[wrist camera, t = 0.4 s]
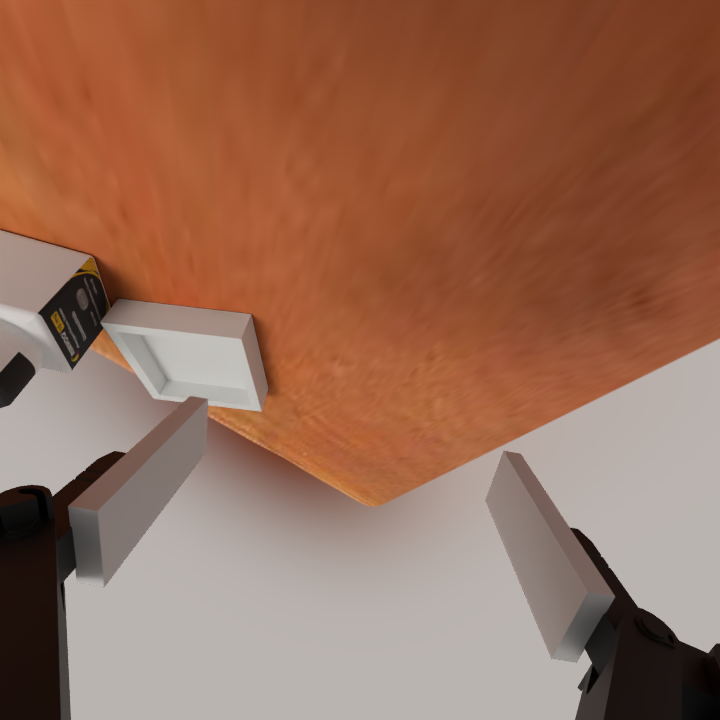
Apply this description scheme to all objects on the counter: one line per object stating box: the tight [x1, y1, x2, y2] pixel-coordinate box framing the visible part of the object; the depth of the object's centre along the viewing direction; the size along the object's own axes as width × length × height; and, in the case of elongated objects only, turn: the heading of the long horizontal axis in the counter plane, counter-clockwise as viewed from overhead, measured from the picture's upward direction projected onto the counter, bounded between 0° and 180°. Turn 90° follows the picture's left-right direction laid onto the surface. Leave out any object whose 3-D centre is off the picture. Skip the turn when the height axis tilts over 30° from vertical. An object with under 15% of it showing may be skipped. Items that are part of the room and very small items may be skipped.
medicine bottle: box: [0, 230, 111, 408], centre depth 27 cm, size 7×7×12 cm
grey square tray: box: [100, 299, 268, 411], centre depth 36 cm, size 12×12×3 cm
